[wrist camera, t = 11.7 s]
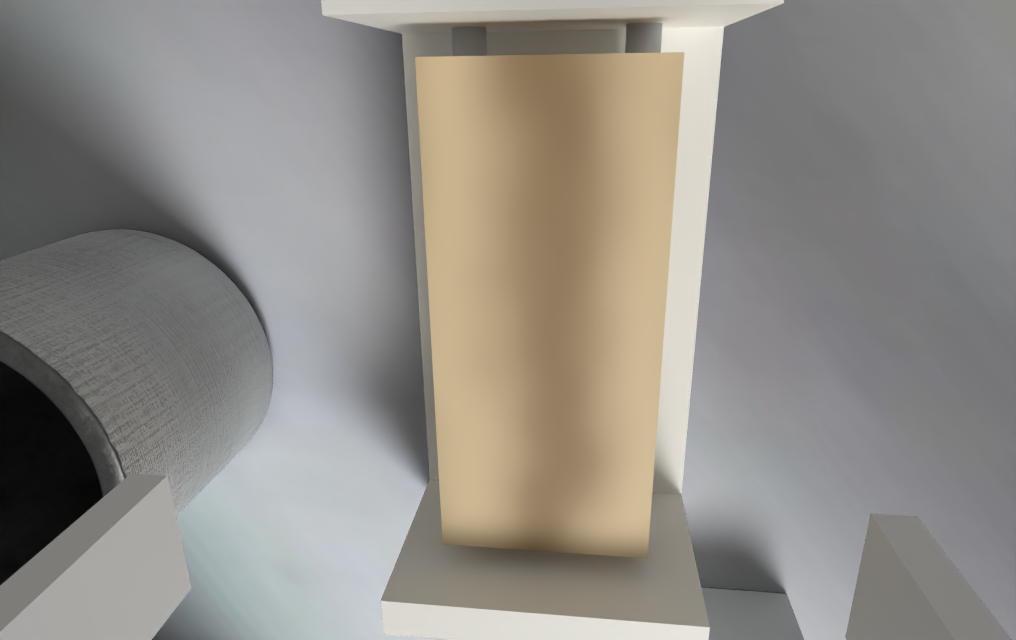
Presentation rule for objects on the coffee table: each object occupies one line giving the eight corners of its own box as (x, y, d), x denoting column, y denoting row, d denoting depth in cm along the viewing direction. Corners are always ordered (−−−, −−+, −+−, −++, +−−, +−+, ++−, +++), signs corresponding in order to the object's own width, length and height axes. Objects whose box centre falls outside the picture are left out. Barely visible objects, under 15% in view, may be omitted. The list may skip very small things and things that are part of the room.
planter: (186, 178, 29) (-38, 234, 19) (328, 412, 33) (204, 569, 22) (-12, 287, 32) (-296, 385, 22) (136, 490, 36) (-51, 659, 25)
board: (457, 499, 29) (442, 544, 26) (436, 59, 23) (414, 56, 20) (641, 510, 28) (647, 558, 25) (672, 55, 22) (684, 52, 19)
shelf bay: (434, 497, 33) (384, 633, 25) (404, -10, 26) (316, -52, 17) (676, 512, 32) (705, 661, 24) (724, -20, 24) (792, -70, 16)
